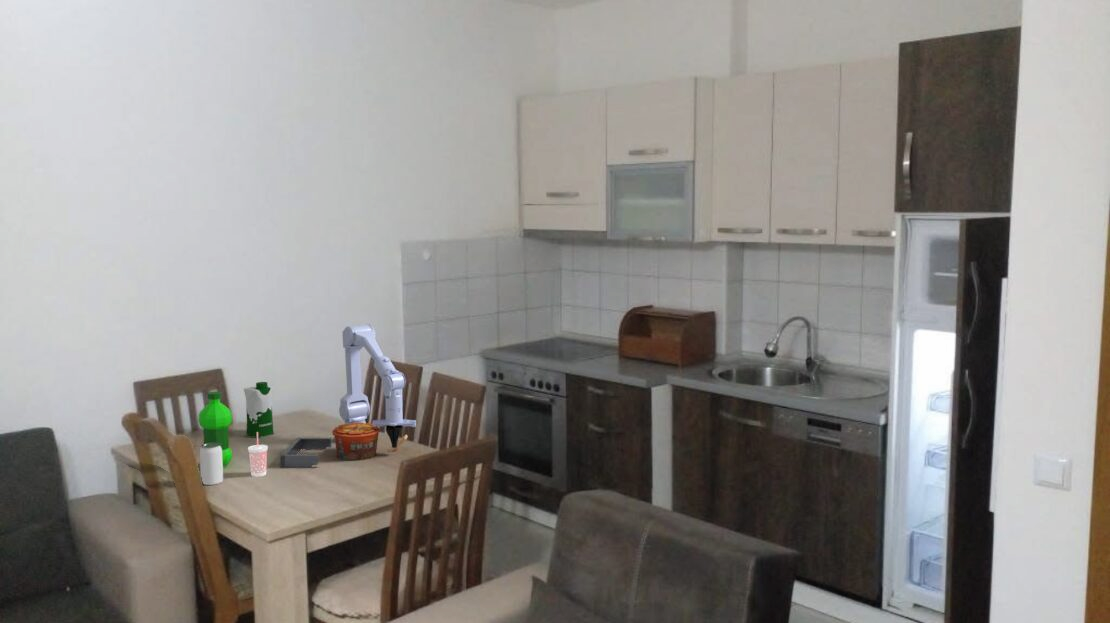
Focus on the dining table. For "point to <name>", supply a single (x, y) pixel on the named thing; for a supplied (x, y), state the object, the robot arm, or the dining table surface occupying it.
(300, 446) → the tray
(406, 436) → the latch flap
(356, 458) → the food container
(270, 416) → the milk carton
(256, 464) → the beverage cup
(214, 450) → the can
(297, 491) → the dining table surface
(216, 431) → the plastic bottle
